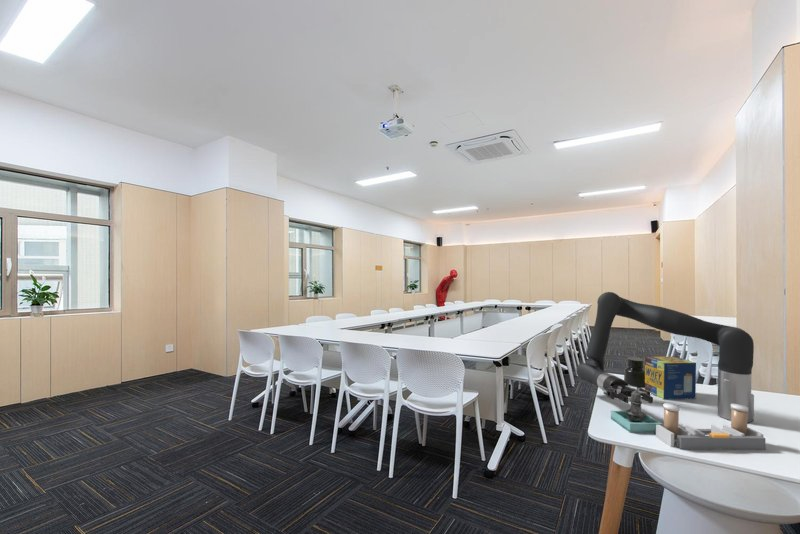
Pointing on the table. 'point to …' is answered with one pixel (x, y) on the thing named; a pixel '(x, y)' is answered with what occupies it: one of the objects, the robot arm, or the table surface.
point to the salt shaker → (635, 408)
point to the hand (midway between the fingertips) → (639, 400)
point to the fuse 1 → (671, 418)
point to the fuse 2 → (739, 418)
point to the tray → (644, 427)
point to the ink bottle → (635, 372)
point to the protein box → (670, 377)
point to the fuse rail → (712, 438)
